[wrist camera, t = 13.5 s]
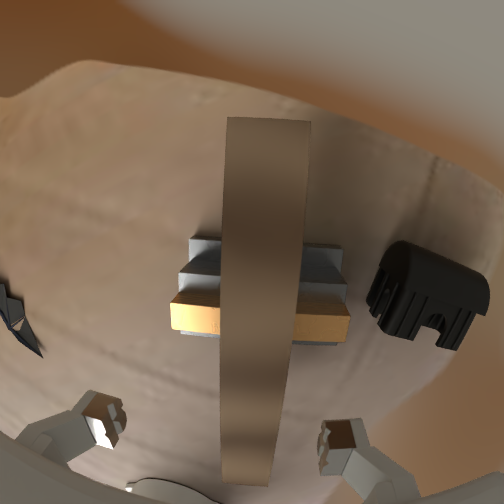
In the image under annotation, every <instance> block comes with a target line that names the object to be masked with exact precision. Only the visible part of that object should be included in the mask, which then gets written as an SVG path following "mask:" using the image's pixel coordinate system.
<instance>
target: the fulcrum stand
mask: <svg viewBox="0 0 504 504" xmlns="http://www.w3.org/2000/svg"><path fill="white" fill-rule="evenodd" d="M221 244H222V238H221V237H205V236H193V237H191V238H190V239H189V263H188V264H187V265H186V266H185V267H184V268H183V269H182V270H181V271H180V272H179V293H178V294H177V295H176V297H175V298H174V299H173V300H172V302H171V321H172V329H177V330H181V334H188V335H196V336H204V337H213V338H220V285H221ZM342 258H343V249H342V247H341V246H337V245H324V244H310V243H303V248H302V258H301V269H300V278H299V288H298V297H297V305H296V314H295V322H294V330H293V338H292V344H304V345H337V342H345V341H346V336H347V331H348V326H349V321H350V314H349V312H348V310H347V308H346V306H345V305H344V303H345V297H346V291H347V283H346V282H345V280H344V278H343V277H342V275H341V274H340V273H341V265H342Z"/></svg>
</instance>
